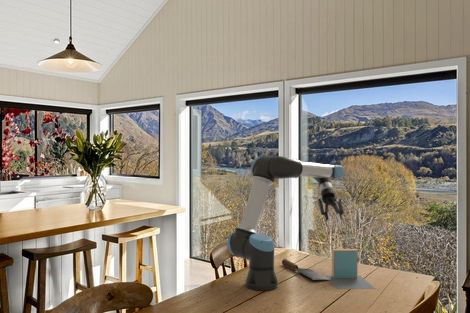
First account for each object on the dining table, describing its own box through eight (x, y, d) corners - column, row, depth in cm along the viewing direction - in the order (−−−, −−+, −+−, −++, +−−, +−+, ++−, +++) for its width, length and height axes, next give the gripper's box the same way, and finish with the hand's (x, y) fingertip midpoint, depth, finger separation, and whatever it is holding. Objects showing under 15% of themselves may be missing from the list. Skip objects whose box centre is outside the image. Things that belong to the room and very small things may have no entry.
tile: (333, 278, 194) (334, 250, 194) (331, 276, 197) (332, 248, 197) (357, 278, 194) (357, 250, 194) (355, 276, 198) (355, 248, 198)
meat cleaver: (332, 280, 191) (332, 271, 191) (312, 283, 188) (312, 275, 188) (298, 263, 223) (298, 256, 223) (280, 266, 219) (280, 258, 219)
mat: (337, 290, 179) (337, 289, 179) (325, 276, 199) (325, 275, 199) (375, 289, 179) (375, 288, 179) (360, 276, 199) (360, 275, 199)
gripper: (340, 195, 232) (349, 228, 215) (310, 195, 231) (317, 228, 215) (343, 187, 226) (353, 220, 210) (313, 187, 226) (320, 220, 209)
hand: (335, 224), depth 212 cm, fingers open, 5 cm apart
